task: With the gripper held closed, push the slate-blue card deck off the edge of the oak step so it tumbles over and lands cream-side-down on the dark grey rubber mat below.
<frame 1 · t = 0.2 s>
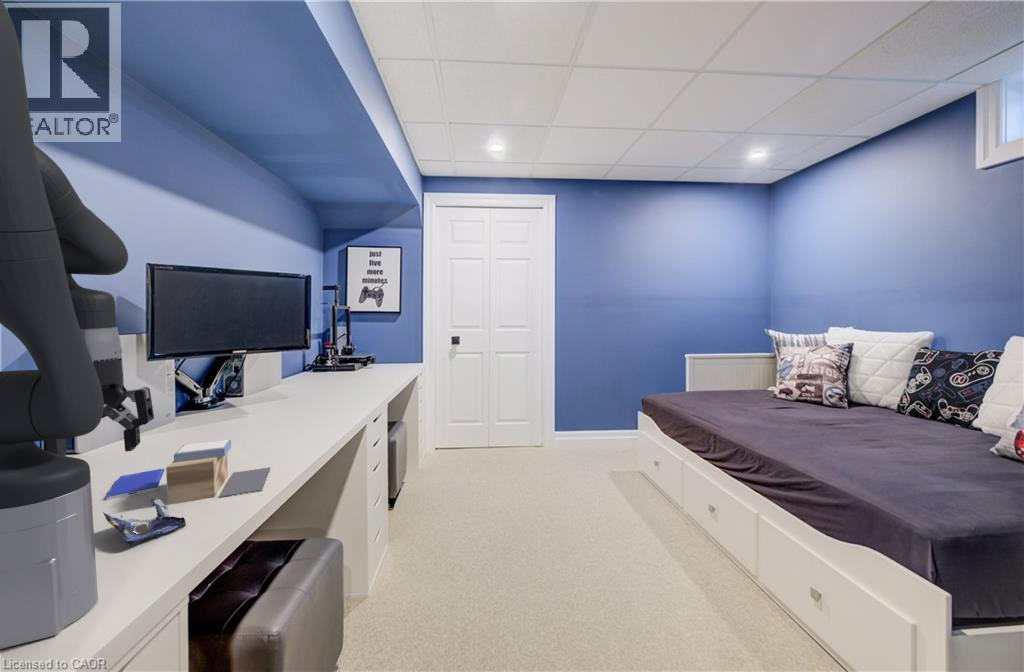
hand: (96, 453, 63), 18 cm above the table, tool pointing down, fingers open, 8 cm apart
rubber mat: (247, 481, 92), on the table
oak step: (200, 489, 88), on the table
hard drive: (138, 488, 90), on the table
snack package: (146, 534, 71), on the table
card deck: (204, 454, 88), point 8 cm above the table, touching oak step
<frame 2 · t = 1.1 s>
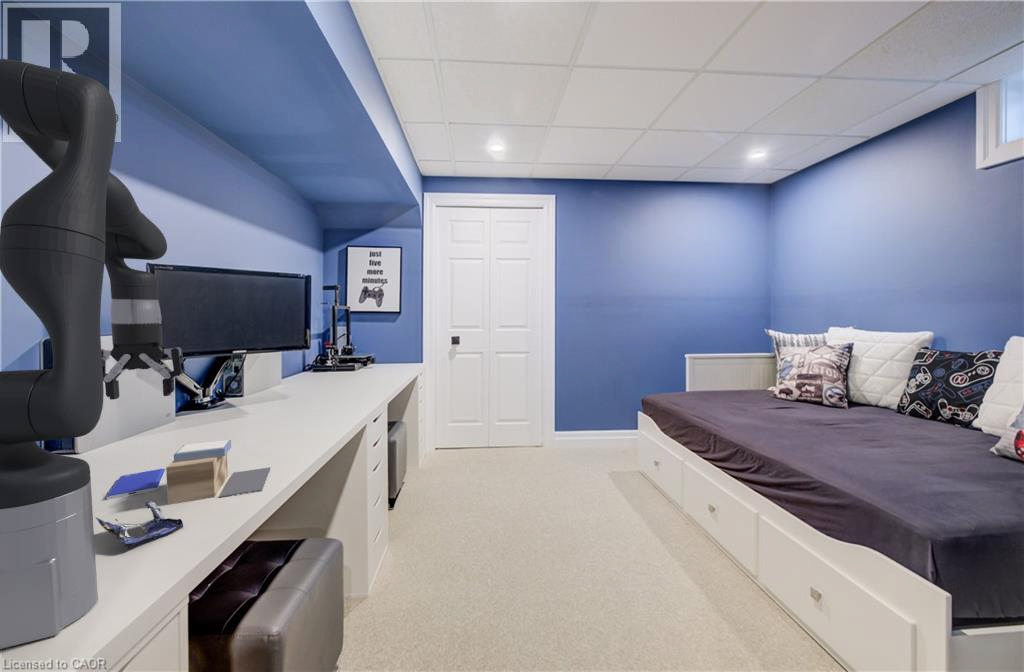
hand: (141, 397, 82), 23 cm above the table, tool pointing down, fingers open, 8 cm apart
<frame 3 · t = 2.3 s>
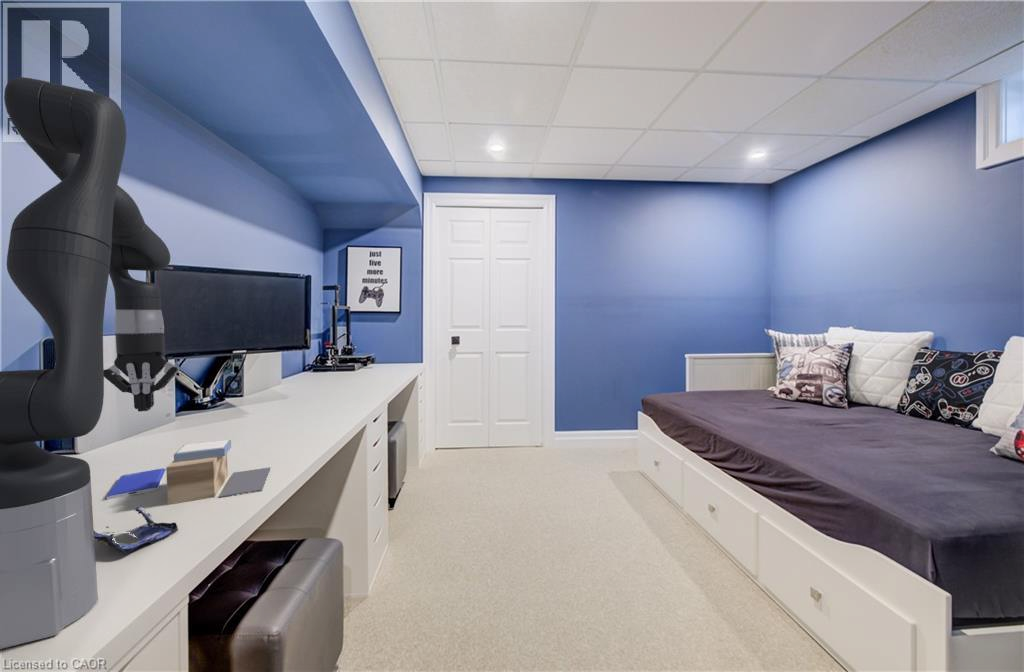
hand: (144, 410, 83), 19 cm above the table, tool pointing down, fingers closed
snack package: (132, 543, 68), on the table
everything else where it was.
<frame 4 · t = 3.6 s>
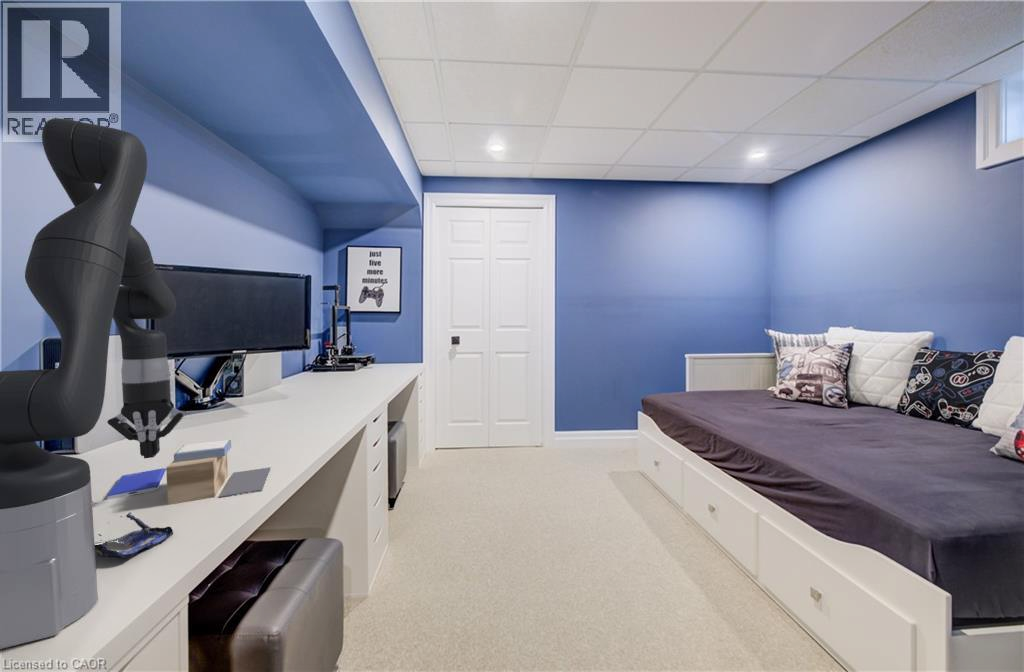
hand: (150, 456, 84), 9 cm above the table, tool pointing down, fingers closed
snack package: (125, 550, 66), on the table
everything else where it was.
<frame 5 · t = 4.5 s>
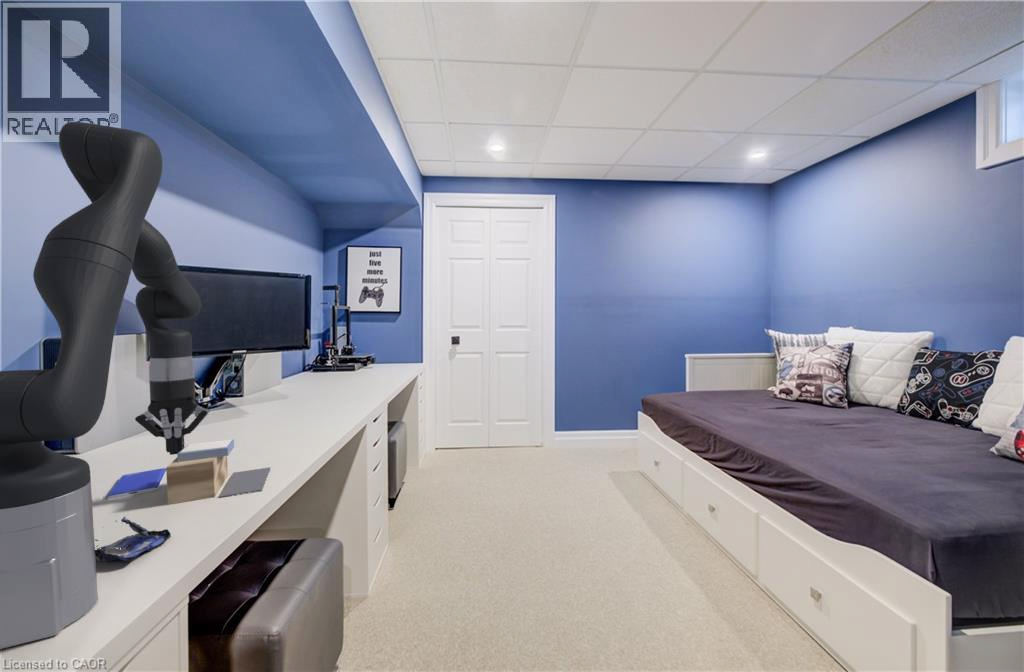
hand: (175, 453, 86), 9 cm above the table, tool pointing down, fingers closed
snack package: (121, 555, 65), on the table
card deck: (207, 454, 88), point 8 cm above the table, touching gripper
everything else where it was.
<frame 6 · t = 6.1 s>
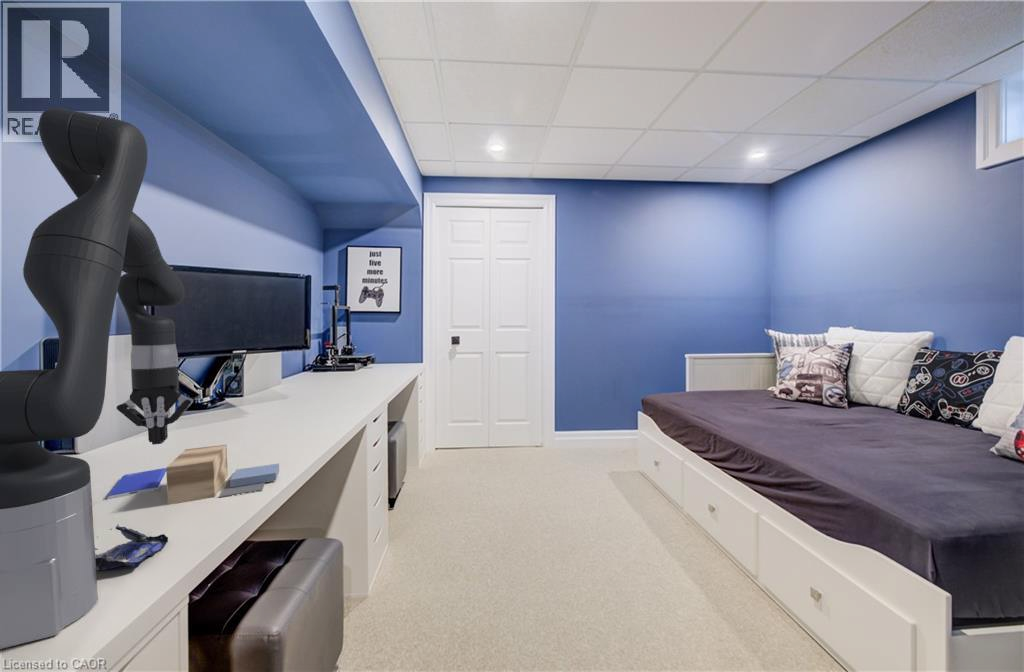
hand: (158, 443, 84), 12 cm above the table, tool pointing down, fingers closed
snack package: (118, 564, 63), on the table
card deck: (255, 471, 93), point 2 cm above the table, tilted 180°, touching rubber mat
everything else where it was.
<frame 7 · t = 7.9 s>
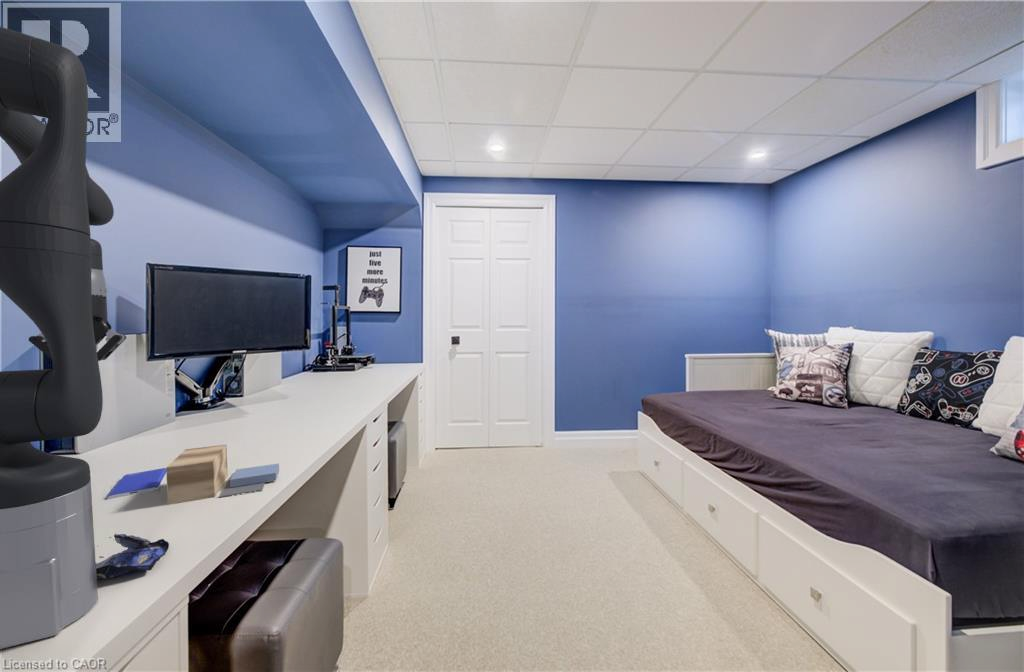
hand: (82, 384, 73), 27 cm above the table, tool pointing down, fingers closed
snack package: (120, 572, 61), on the table
everything else where it was.
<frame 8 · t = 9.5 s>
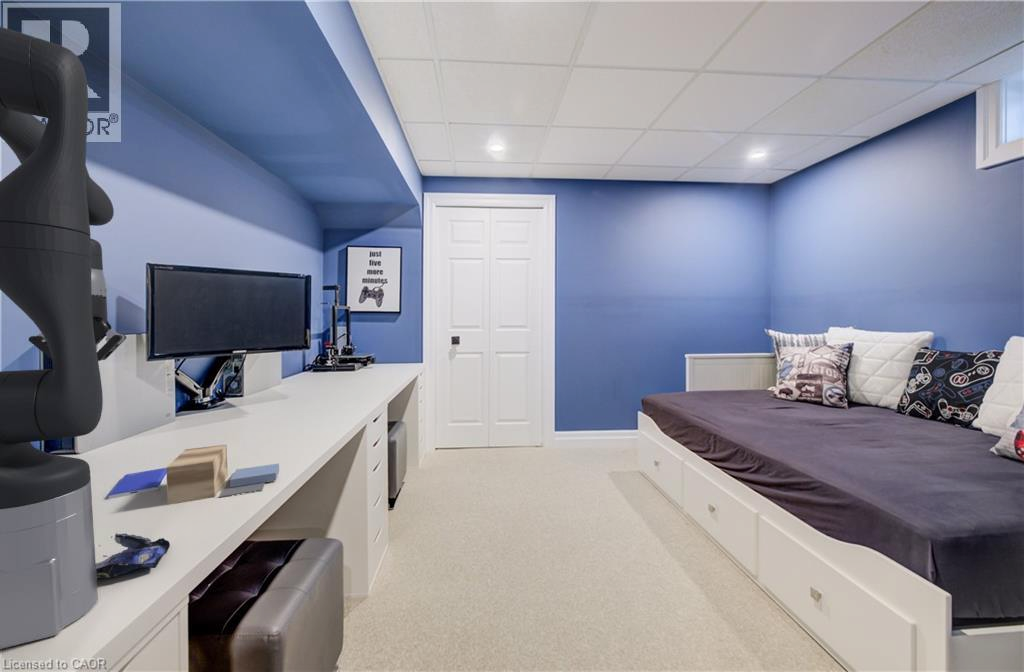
hand: (82, 384, 73), 27 cm above the table, tool pointing down, fingers closed
nothing on the table moved.
at the end: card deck tilted 180°; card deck point 2.3 cm above the table; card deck inside the target area (0.3 cm from its centre), point 2.3 cm above the table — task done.
